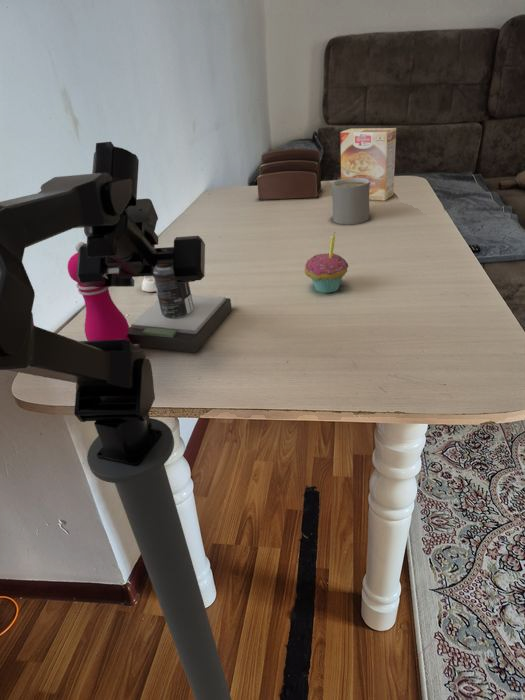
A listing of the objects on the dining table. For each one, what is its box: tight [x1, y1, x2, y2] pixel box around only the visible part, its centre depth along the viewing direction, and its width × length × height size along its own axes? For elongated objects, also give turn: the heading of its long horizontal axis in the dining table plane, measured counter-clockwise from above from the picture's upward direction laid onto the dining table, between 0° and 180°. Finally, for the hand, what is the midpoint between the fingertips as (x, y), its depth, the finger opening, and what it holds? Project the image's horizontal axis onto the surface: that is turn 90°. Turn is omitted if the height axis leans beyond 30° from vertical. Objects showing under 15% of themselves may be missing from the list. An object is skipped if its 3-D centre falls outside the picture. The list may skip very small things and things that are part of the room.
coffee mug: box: [331, 178, 370, 225], centre depth 134 cm, size 13×10×10 cm
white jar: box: [141, 276, 156, 293], centre depth 106 cm, size 5×3×5 cm
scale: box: [127, 294, 233, 354], centre depth 90 cm, size 16×14×3 cm
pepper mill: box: [67, 241, 130, 341], centre depth 79 cm, size 7×7×20 cm
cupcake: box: [304, 231, 349, 294], centre depth 95 cm, size 9×8×12 cm
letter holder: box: [256, 147, 322, 201], centre depth 159 cm, size 10×20×14 cm, turn 77°
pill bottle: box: [153, 264, 194, 318], centre depth 86 cm, size 6×6×11 cm
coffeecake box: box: [340, 127, 397, 202], centre depth 147 cm, size 15×7×20 cm, turn 55°
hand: (160, 282), depth 79 cm, fingers open, 9 cm apart
